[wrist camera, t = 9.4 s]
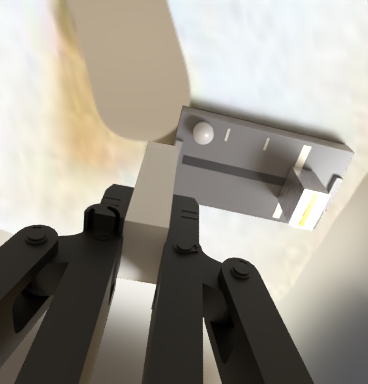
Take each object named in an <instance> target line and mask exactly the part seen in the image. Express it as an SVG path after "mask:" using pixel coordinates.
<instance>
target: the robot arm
mask: <svg viewBox="0 0 368 384" xmlns="http://www.w3.org/2000/svg"><path fill="white" fill-rule="evenodd" d="M178 148H179V147H177V146H172V145H167V144H162V143H157V142H152V141H149V142H148V146H147V149H146V152H145V155H144V159H143V162H142V165H141V168H140V172H139V175H138V178H137V181H136V185H135V188H133V187H128V186H122V185H117V184H113V185H112V186H110V187H109V188H107V189H106V191H105V193H104V196H103V198H102V200H101V203H100V204H94V205H92V206H90V207H88V208H87V209H86V210H85V211H84V228H83V232H82V233H79V234H76V235H69V236H58V233H57V232H56V231H55V229H53V228H51V227H49V226H45V225H32V226H28V227H25V228H23V229H21V230H20V231H18V232H17V233H16V234H15V235H14V236H12V237H11V238H10V239H9V240H8V241H6V242H5V243H4V244H3V245H2V246H1V247H0V368H1V367H2V365H3V364H4V363H5V361H6V360H7V359H8V358H9V356H10V355H11V354H12V353H13V352H14V350H15V349H16V348H17V347H18V345H19V344H20V343H21V341H22V340H23V339H24V338H25V336H26V335H27V334H28V332H29V331H30V330H31V329H32V328H33V326H34V325H35V324H36V323H37V321H38V320H39V319H40V317H41V316H42V315H43V314H44V313H45V311H46V310H47V309H48V310H47V312H46V315H45V317H44V319H43V321H42V323H41V326H40V328H39V330H38V332H37V334H36V337H35V339H34V341H33V343H32V346H31V348H30V350H29V352H28V354H27V357H26V359H25V361H24V363H23V365H22V368H21V370H20V372H19V374H18V376H17V379H16V381H15V383H14V384H90V381H91V377H92V374H93V370H94V366H95V362H96V359H97V354H98V351H99V347H100V344H101V339H102V336H103V332H104V328H105V325H106V321H107V317H108V313H109V309H110V306H111V302H112V298H113V294H114V291H115V285H116V278H122V279H128V280H134V281H140V282H146V283H152V284H157V285H156V290H155V294H154V299H153V303H152V308H151V309H152V314H151V322H150V328H149V335H148V342H147V349H146V356H145V363H144V370H143V377H142V384H203V317H204V322H205V325H206V329H207V332H208V336H209V340H210V343H211V347H212V350H213V354H214V357H215V361H216V364H217V368H218V372H219V375H220V379H221V382H222V384H314V382H313V381H312V378H311V377H310V375H309V373H308V370H307V369H306V366H305V364H304V362H303V360H302V358H301V356H300V354H299V352H298V350H297V348H296V346H295V344H294V343H293V340H292V338H291V336H290V334H289V332H288V330H287V328H286V326H285V324H284V322H283V320H282V318H281V316H280V314H279V312H278V310H277V308H276V306H275V304H274V302H273V300H272V298H271V296H270V294H269V292H268V290H267V288H266V286H265V284H264V282H263V280H262V278H261V276H260V274H259V272H258V270H257V269H256V268H255V266H254V265H252V264H251V263H250V262H248V261H246V260H244V259H241V258H228V259H227V260H225V261H224V262H223V263H221V262H219V261H216V260H214V259H212V258H210V257H209V256H207V255H206V254H205V253H204V252H203V251H202V248H201V246H200V244H199V205H198V203H197V201H196V200H195V198H192V197H186V196H181V195H176V194H173V190H174V182H175V173H176V165H177V157H178ZM48 307H49V308H48Z"/></svg>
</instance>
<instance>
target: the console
mask: <svg viewBox="0 0 368 384" xmlns="http://www.w3.org/2000/svg"><path fill="white" fill-rule="evenodd" d="M173 146H177V147H179V148H178V157H177V165H176V173H175V182H174V190H173V194H176V195H181V196H186V197H192V198H195V200H196V201H197V203H198V204H200V205H204V206H209V207H214V208H218V209H223V210H228V211H232V212H237V213H242V214H246V215H251V216H255V217H260V218H265V219H269V220H274V221H279V222H283V223H287V221H286V219H285V216H284V214H283V212H282V209H281V207H280V204H279V202H278V196H279V194H280V192H281V189H282V187H283V185H284V183H285V180H286V178H287V176H288V173H289V171H290V169H291V166H293V167H297V168H302V169H306V170H310V171H314V172H315V174H316V175H317V177H318V178H319V180H320V181H321V183H322V184H323V186H324V187H325V188H326V190H327V191H328V193H329V194H330V196H329V198H328V200H327V202H326V204H325V205H324V207H323V209H322V211H321V213H320V215H319V217H318V219H317V221H316V223H315V225H314V227H313V229H315V227H316V225H317V224H318V222H319V220H320V218H321V216H322V214H323V212H324V211H326V210H327V208H328V206H329V205H330V203H331V201H332V199H333V197H334V195H335V193H336V191H337V189H338V187H339V186H340V184H341V182H342V180H343V179H342V176H343V174H344V172H345V170H346V168H347V166H348V165H349V163H350V161H351V159H352V157H353V155H354V152H353V151H352V150H351V149H350V148H349V147H348V146H347V145H344V144H340V143H335V142H331V141H327V140H323V139H319V138H315V137H311V136H307V135H302V134H298V133H294V132H290V131H286V130H282V129H278V128H274V127H269V126H265V125H261V124H257V123H253V122H249V121H245V120H241V119H236V118H232V117H228V116H224V115H220V114H216V113H212V112H208V111H203V110H199V109H195V108H191V107H187V106H183V107H182V111H181V115H180V119H179V123H178V128H177V132H176V136H175V140H174V144H173Z"/></svg>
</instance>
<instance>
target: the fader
mask: <svg viewBox="0 0 368 384" xmlns="http://www.w3.org/2000/svg"><path fill="white" fill-rule="evenodd" d="M329 196H330V194H329V193H328V191H327V190H326V188H325V187H324V186H323V184H322V183H321V181H320V180H319V178H318V177H317V175H316V174H315V172H314V171H310V170H306V169H302V168H297V167H293V166H291V169H290V171H289V173H288V176H287V178H286V180H285V183H284V185H283V187H282V189H281V192H280V194H279V196H278V202H279V204H280V207H281V209H282V212H283V214H284V216H285V219H286V221H287V224H288V225H290V226H295V227H300V228H304V229H309V230H312V229H313V227H314V225H315V223H316V221H317V219H318V217H319V215H320V213H321V211H322V209H323V207H324V205H325V204H326V202H327V200H328V198H329Z"/></svg>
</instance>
